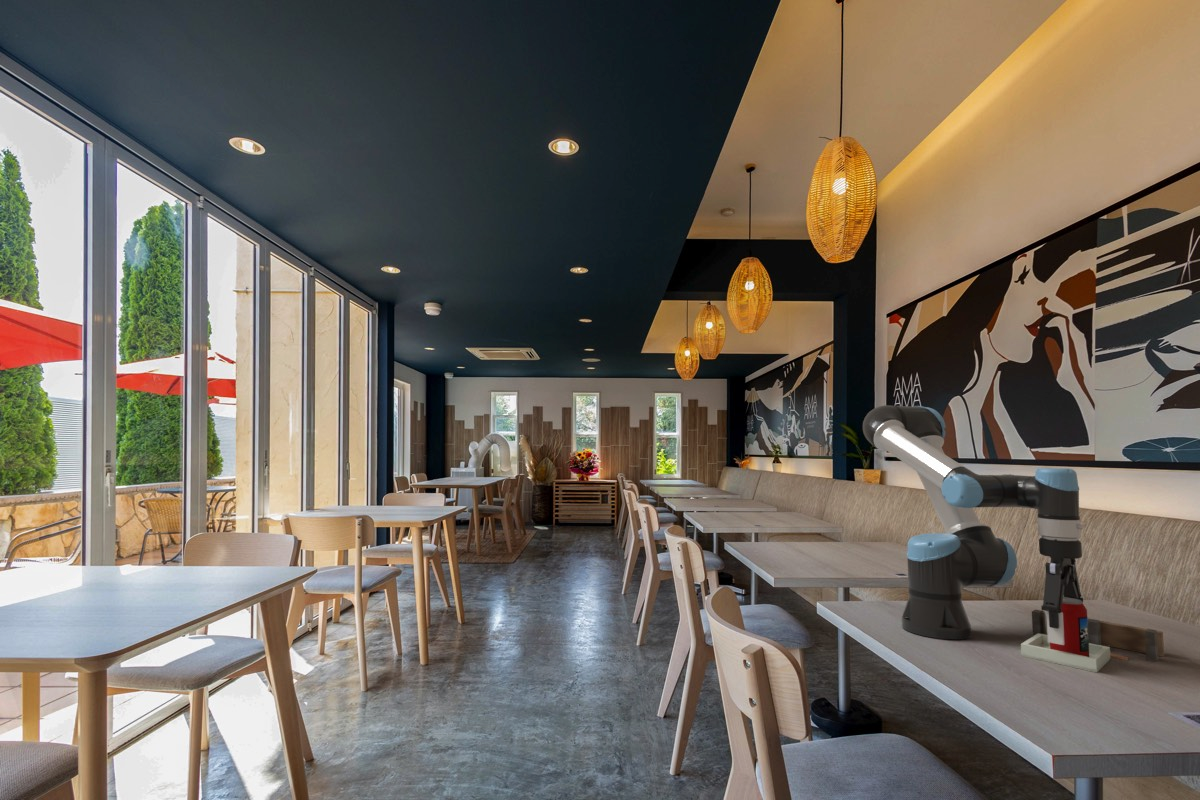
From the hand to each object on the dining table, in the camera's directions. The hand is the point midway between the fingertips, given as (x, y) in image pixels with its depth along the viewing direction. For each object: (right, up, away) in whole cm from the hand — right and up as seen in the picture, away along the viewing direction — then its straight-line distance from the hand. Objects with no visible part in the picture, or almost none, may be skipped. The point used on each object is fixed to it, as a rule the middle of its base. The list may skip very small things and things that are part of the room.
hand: (1064, 637), depth 133 cm
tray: (0, -4, 0) cm, 4 cm away
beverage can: (0, -4, -1) cm, 4 cm away
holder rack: (+12, -5, +7) cm, 15 cm away
